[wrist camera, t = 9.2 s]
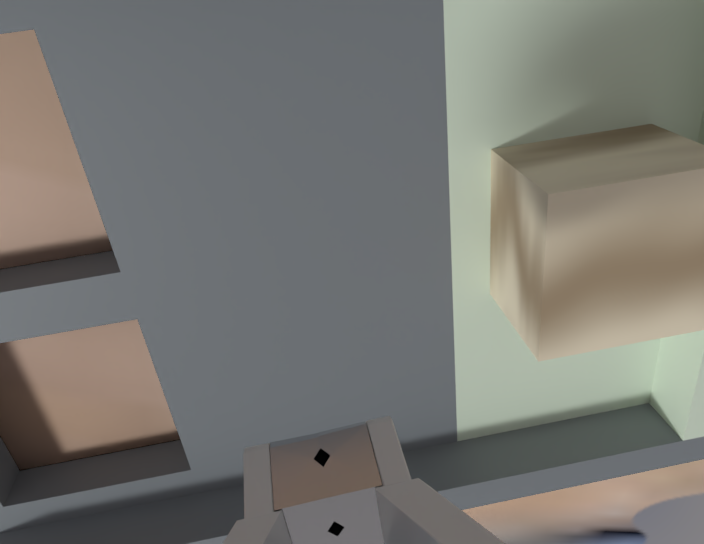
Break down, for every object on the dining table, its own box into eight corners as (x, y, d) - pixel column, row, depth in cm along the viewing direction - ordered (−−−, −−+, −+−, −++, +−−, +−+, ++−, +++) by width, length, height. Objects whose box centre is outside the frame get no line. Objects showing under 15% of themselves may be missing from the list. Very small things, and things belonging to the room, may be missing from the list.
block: (491, 149, 20) (548, 194, 16) (651, 123, 21) (744, 161, 17) (490, 293, 23) (538, 361, 19) (630, 268, 24) (706, 329, 20)
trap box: (-316, -49, 16) (-500, -53, 12) (753, -177, 18) (888, -214, 15) (22, 518, 28) (-15, 610, 24) (649, 393, 30) (708, 457, 26)
